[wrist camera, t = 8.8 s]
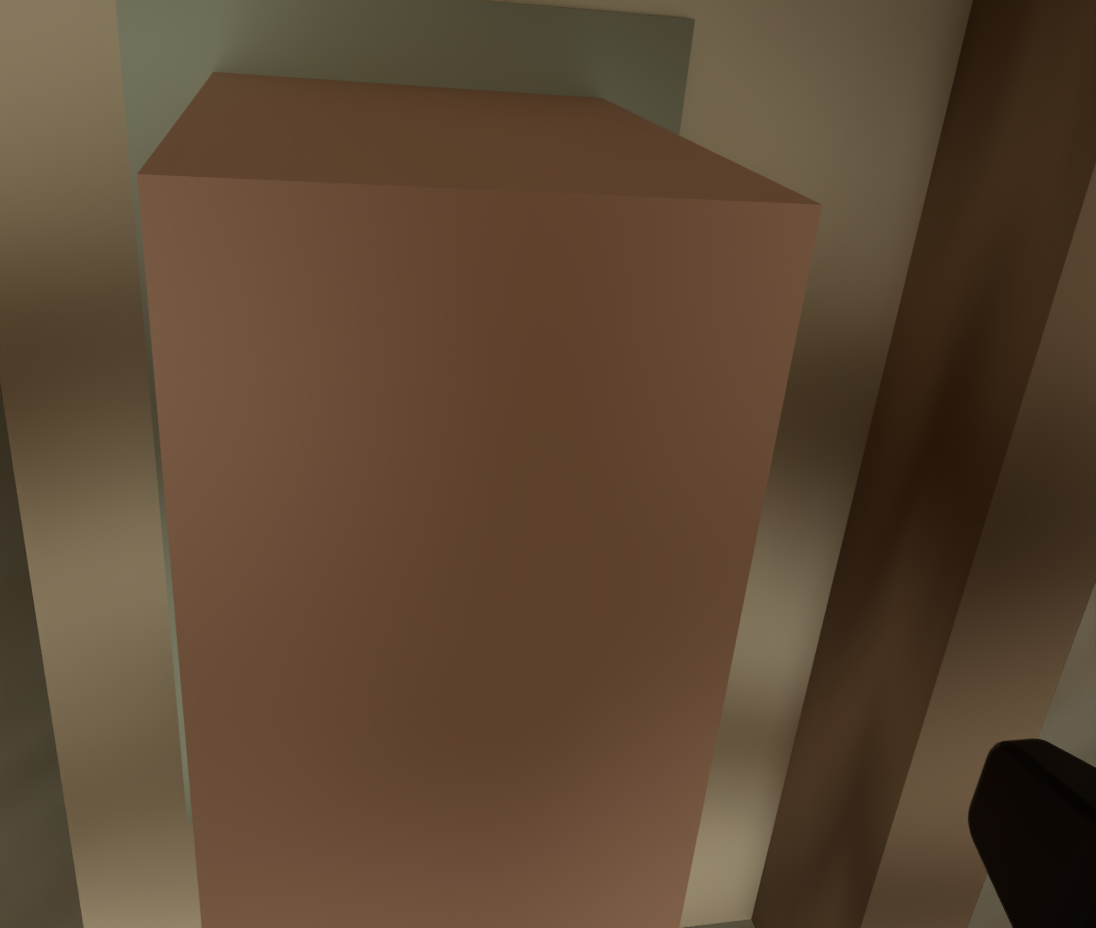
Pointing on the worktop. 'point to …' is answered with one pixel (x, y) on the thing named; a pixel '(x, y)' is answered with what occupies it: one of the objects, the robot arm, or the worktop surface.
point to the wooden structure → (802, 439)
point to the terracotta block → (457, 492)
